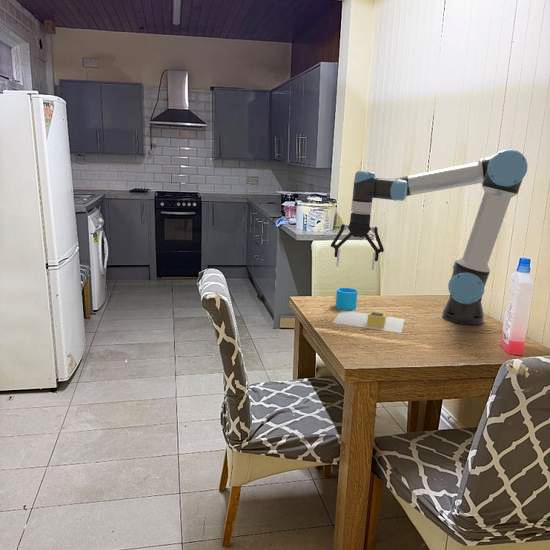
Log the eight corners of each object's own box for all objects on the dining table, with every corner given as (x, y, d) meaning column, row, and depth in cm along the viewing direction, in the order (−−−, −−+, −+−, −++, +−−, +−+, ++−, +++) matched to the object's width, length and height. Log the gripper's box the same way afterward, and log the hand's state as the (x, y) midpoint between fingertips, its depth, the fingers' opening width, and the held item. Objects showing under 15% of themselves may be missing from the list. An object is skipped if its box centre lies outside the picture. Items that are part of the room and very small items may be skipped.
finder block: (385, 323, 184) (387, 311, 183) (383, 328, 178) (385, 316, 177) (369, 320, 186) (370, 309, 185) (366, 325, 180) (368, 313, 179)
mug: (351, 314, 197) (353, 294, 195) (332, 310, 200) (333, 290, 198) (361, 307, 207) (363, 288, 205) (343, 303, 211) (344, 284, 209)
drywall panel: (412, 323, 189) (413, 320, 189) (409, 337, 174) (409, 334, 173) (333, 312, 198) (334, 309, 198) (324, 324, 182) (324, 321, 182)
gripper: (394, 214, 194) (387, 268, 199) (328, 209, 198) (323, 262, 203) (394, 216, 186) (388, 272, 191) (327, 210, 190) (322, 265, 195)
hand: (355, 267), depth 197 cm, fingers open, 13 cm apart
